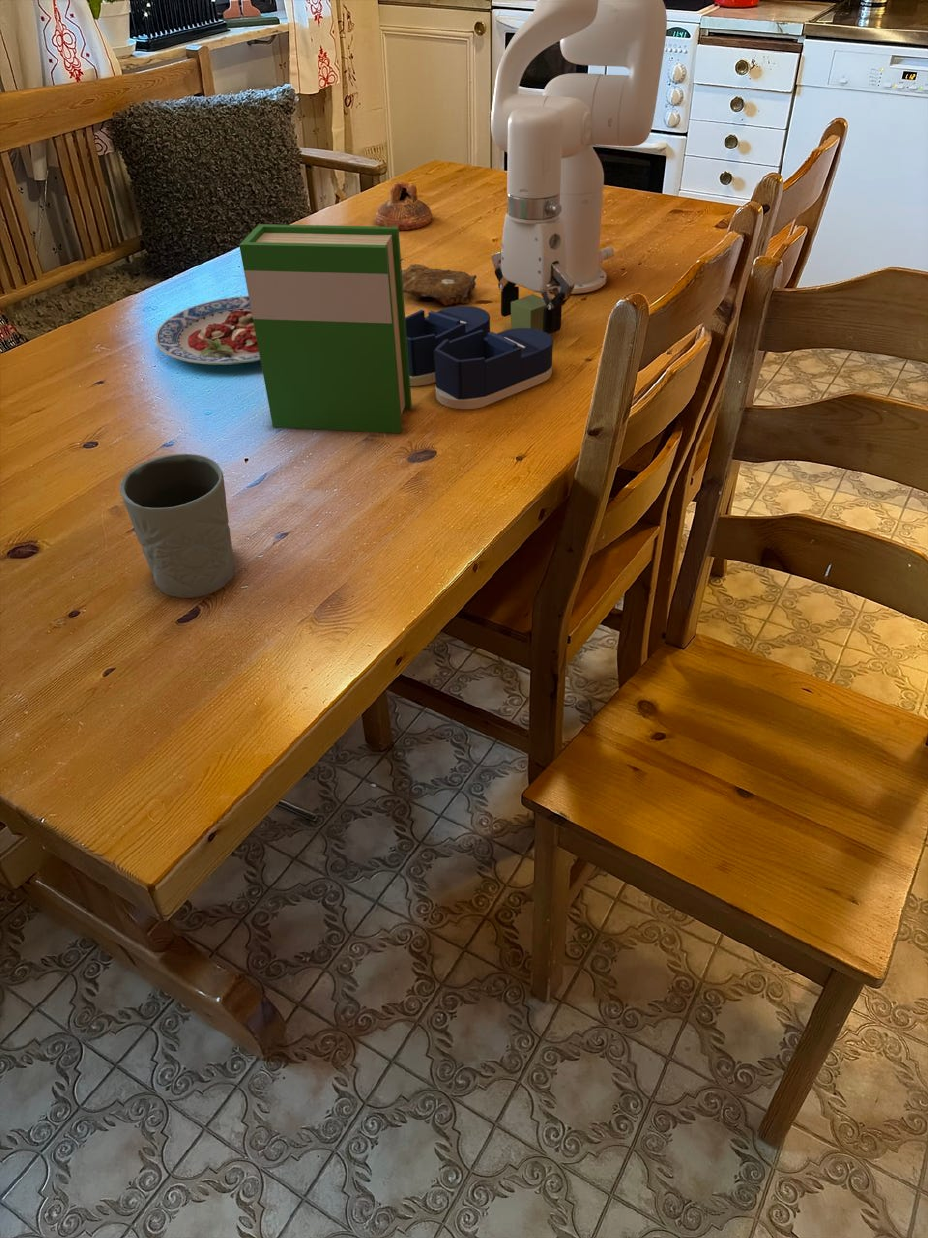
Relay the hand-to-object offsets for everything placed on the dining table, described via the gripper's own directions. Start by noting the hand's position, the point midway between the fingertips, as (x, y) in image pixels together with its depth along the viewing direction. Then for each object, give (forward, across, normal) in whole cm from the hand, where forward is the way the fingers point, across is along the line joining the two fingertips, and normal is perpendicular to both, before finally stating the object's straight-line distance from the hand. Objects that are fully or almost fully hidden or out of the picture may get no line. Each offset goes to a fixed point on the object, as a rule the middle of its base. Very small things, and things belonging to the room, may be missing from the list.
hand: (530, 322), depth 141 cm
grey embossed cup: (+4, -22, +67) cm, 71 cm away
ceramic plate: (+3, +30, +35) cm, 46 cm away
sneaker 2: (+3, -9, +14) cm, 17 cm away
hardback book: (+3, -2, +36) cm, 37 cm away
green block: (+2, 0, -1) cm, 2 cm away
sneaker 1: (+2, +3, +16) cm, 16 cm away
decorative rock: (+2, +24, +1) cm, 24 cm away
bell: (+1, +60, -18) cm, 62 cm away
